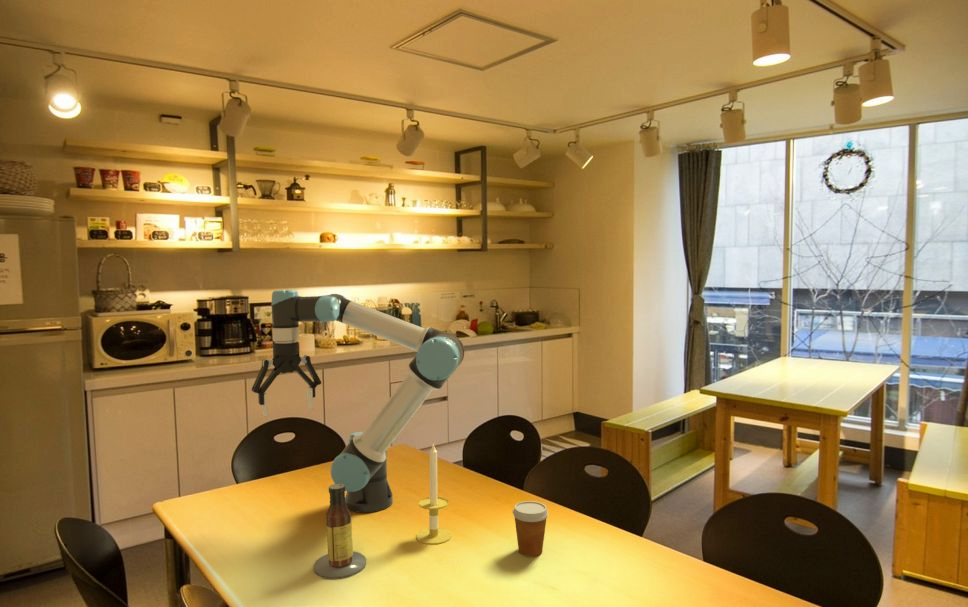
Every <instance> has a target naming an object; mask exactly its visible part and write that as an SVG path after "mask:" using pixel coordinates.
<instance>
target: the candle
mask: <svg viewBox="0 0 968 607" xmlns="http://www.w3.org/2000/svg"><path fill="white" fill-rule="evenodd" d="M449 504H450V503H449V499H447V498H445V497H443V496H438V450H436V447H435V444H434V442H432V446H431V449H430V450H429V497H424V498H422V499H420V500H419V501H418V506H419V507H420V508H422V509H424V510H429V512H428V513H429V515H428V516H429V525H428V527H429V528H425V529H422V530H420V531H419V532H418V533H417V534H416V540H417V542H419V543H420V544H421V543H422V544H425V545H431V546H432V545H440V544H444V543H447V542H449V541H450V540H451V538H452V533H451V532H450V531H449V530H448V529H445V528H439V510H441V509H443V508H446V507H447V506H448V505H449Z"/></svg>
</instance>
